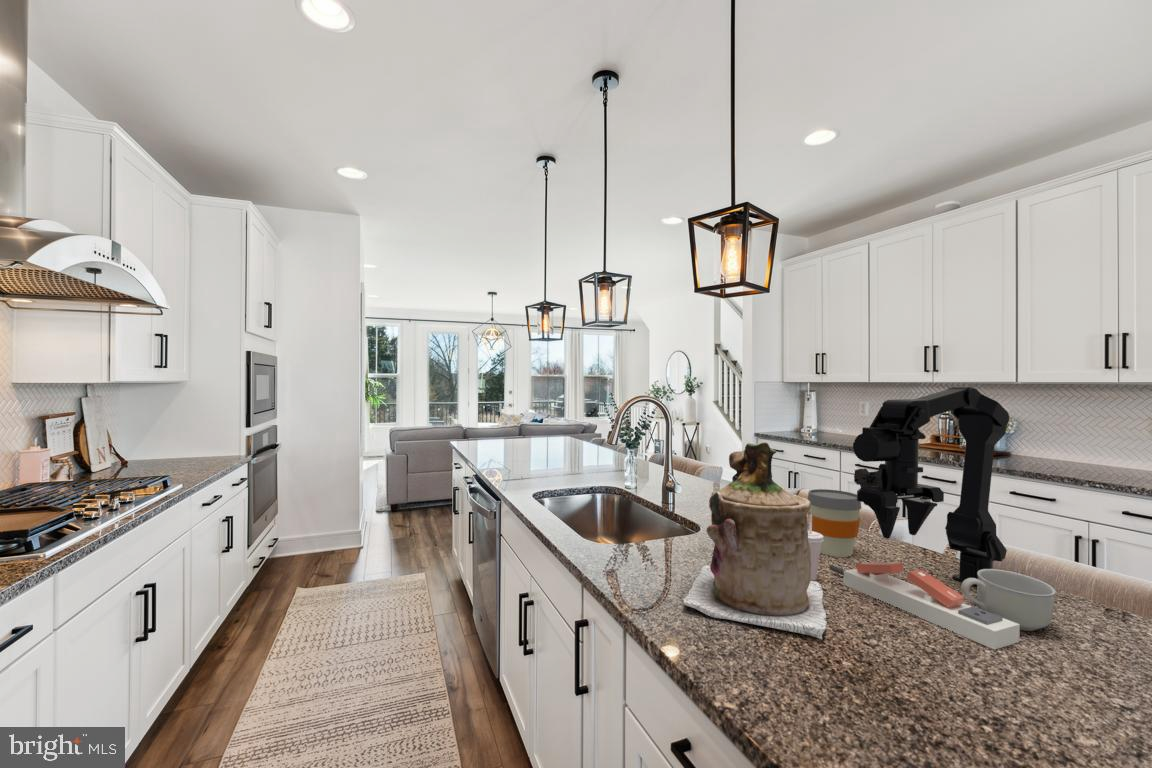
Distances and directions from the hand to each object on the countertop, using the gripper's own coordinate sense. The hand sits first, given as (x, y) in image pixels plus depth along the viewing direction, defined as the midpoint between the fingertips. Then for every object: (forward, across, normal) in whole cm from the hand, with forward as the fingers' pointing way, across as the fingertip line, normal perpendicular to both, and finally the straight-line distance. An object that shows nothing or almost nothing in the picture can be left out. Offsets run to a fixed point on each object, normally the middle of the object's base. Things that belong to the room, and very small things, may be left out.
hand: (899, 536), depth 101 cm
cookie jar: (+13, +30, -8) cm, 34 cm away
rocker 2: (+7, +2, +8) cm, 11 cm away
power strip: (+12, +2, +3) cm, 13 cm away
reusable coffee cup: (+12, -11, -25) cm, 30 cm away
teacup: (+12, -8, +14) cm, 20 cm away
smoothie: (+12, +10, -14) cm, 21 cm away
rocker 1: (+7, +2, -2) cm, 8 cm away
